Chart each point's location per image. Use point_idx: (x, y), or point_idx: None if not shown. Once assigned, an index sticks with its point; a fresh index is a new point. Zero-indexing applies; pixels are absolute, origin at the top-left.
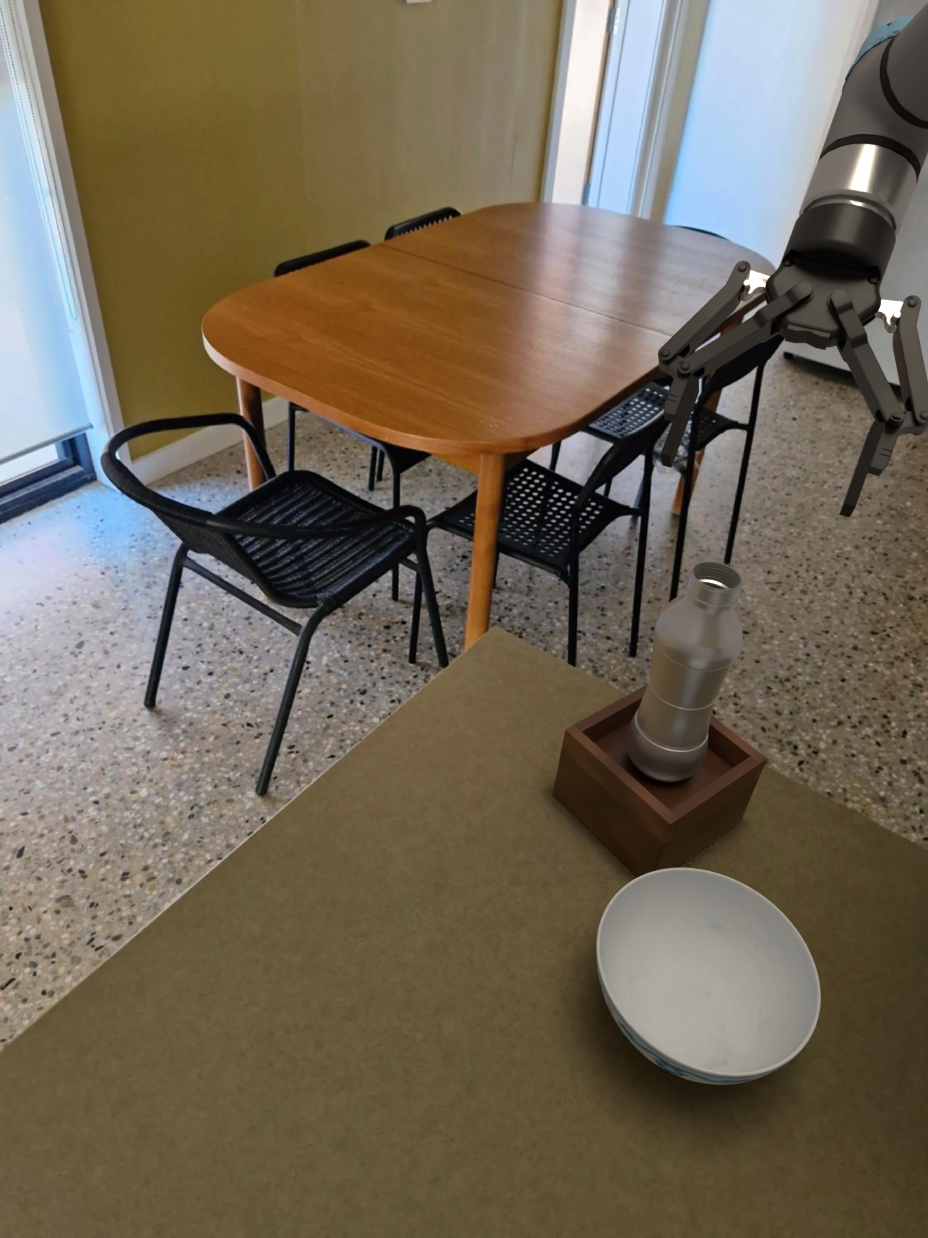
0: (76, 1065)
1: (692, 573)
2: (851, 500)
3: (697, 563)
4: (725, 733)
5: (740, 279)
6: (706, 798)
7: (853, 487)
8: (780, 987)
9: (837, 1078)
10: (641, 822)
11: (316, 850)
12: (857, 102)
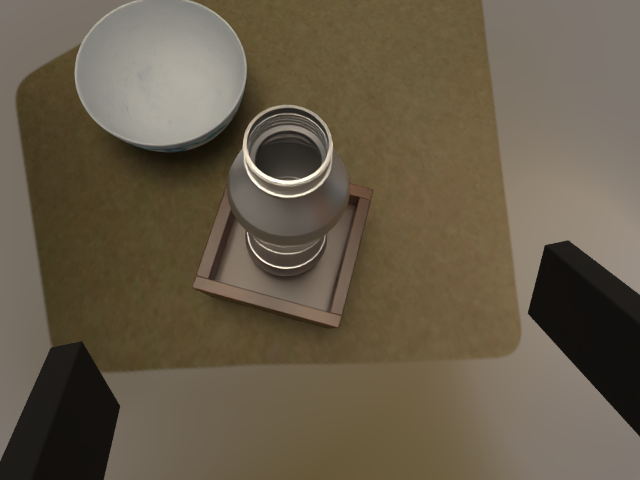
0: None
1: (323, 122)
2: (62, 355)
3: (329, 153)
4: (242, 291)
5: None
6: (223, 198)
7: (57, 385)
8: (118, 125)
9: (76, 135)
10: None
11: (454, 69)
12: None
